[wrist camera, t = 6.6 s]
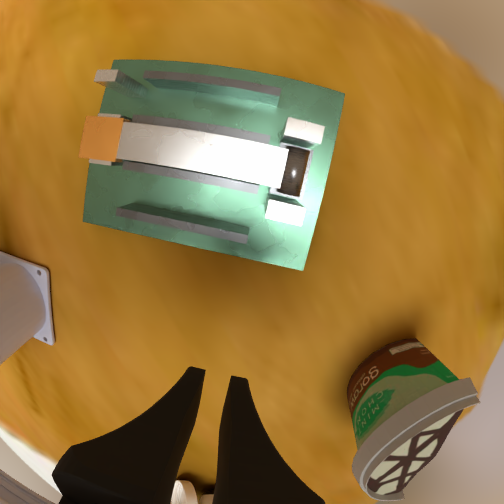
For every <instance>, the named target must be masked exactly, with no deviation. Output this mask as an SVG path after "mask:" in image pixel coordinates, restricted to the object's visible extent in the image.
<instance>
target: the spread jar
mask: <svg viewBox="0 0 504 504" xmlns="http://www.w3.org/2000/svg"><path fill="white" fill-rule="evenodd" d="M214 490H215V489H214ZM214 490H210V491H207V492H204V493H203V494H202V495H201V497H200V500H199V504H212V502H213V496H214ZM171 500H172V501H171V502H172V504H198V502H197V496H196V492H195V489H194V486H193V485H192V483H191V482H190V481H185V480H176V481H175V485H174V489H173V493H172V498H171Z"/></svg>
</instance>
